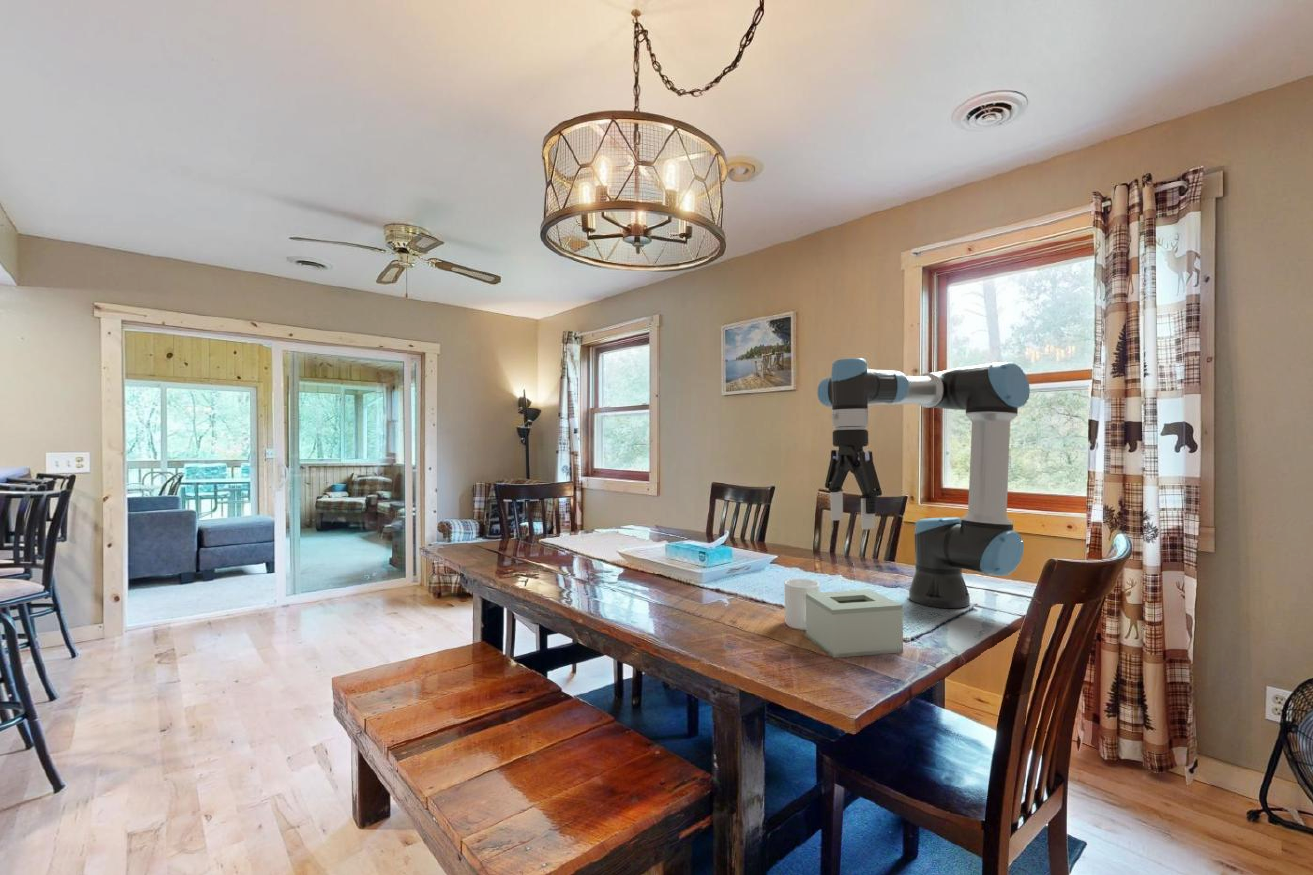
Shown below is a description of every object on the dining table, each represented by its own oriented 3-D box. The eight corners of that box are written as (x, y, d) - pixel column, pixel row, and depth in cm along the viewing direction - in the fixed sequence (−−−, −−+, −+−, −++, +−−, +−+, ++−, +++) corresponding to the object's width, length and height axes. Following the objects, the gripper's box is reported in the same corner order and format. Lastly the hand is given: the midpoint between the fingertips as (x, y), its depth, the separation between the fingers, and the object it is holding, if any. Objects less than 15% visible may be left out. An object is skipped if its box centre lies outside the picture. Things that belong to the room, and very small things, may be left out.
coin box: (870, 631, 133) (869, 589, 133) (903, 652, 120) (902, 605, 121) (806, 636, 131) (805, 593, 131) (833, 658, 118) (832, 610, 118)
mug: (829, 635, 131) (828, 591, 131) (793, 636, 131) (792, 591, 131) (814, 619, 143) (813, 578, 143) (781, 619, 143) (781, 578, 143)
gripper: (809, 430, 137) (811, 517, 137) (864, 427, 113) (866, 534, 113) (838, 429, 139) (839, 516, 139) (898, 427, 114) (900, 532, 114)
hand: (851, 524), depth 126 cm, fingers open, 13 cm apart
